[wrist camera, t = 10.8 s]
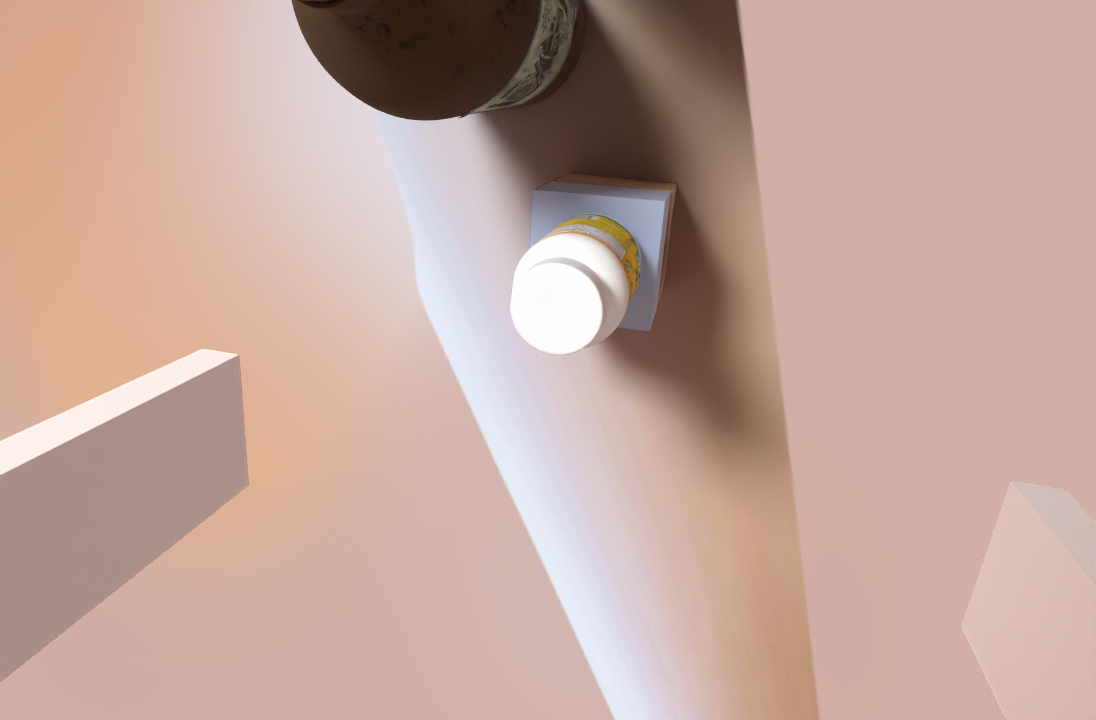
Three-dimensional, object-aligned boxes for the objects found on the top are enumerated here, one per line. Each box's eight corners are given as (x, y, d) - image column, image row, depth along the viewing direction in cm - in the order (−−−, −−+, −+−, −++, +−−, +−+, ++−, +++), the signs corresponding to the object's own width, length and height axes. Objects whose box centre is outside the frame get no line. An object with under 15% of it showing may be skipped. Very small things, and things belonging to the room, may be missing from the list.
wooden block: (570, 173, 47) (554, 179, 42) (677, 183, 46) (672, 191, 41) (562, 276, 49) (546, 293, 45) (663, 289, 48) (657, 308, 44)
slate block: (552, 181, 43) (532, 189, 38) (670, 191, 41) (664, 201, 37) (545, 295, 45) (525, 315, 40) (657, 308, 44) (649, 331, 39)
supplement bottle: (578, 192, 37) (535, 218, 29) (663, 249, 37) (647, 293, 29) (526, 275, 40) (472, 324, 31) (607, 329, 40) (575, 394, 31)
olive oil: (405, 61, 47) (104, 13, 24) (480, -104, 43) (204, -354, 20) (540, 149, 47) (369, 186, 24) (628, -8, 43) (524, -147, 20)
